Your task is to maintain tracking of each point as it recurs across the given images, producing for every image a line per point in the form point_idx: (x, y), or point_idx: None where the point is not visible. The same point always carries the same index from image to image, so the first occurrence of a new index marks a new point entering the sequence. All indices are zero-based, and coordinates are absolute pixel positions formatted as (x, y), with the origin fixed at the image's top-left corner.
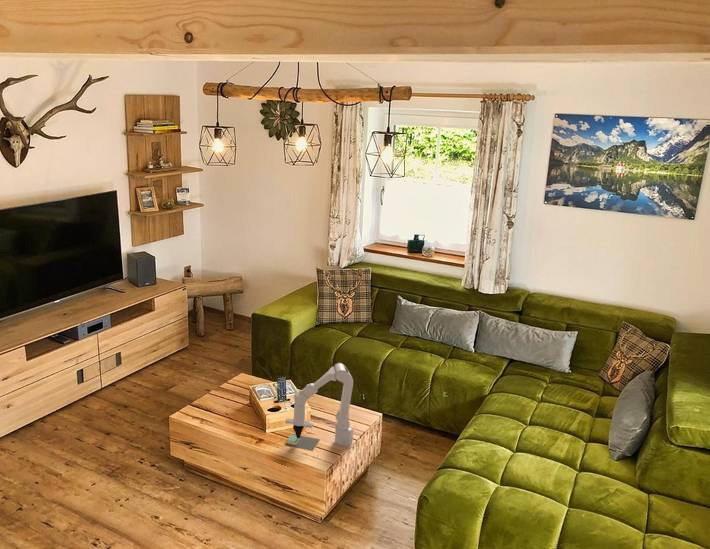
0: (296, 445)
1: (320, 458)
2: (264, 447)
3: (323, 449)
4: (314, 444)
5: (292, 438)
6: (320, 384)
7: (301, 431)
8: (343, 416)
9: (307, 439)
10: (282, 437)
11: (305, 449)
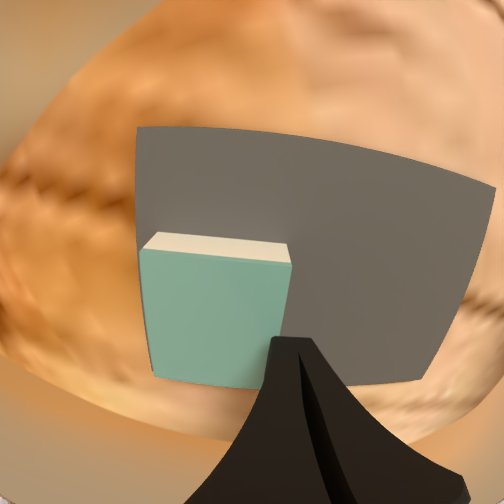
0: None
1: (448, 400)
2: (58, 382)
3: (490, 315)
4: (449, 294)
5: (199, 342)
6: None
7: (348, 407)
8: None
9: (383, 218)
10: (70, 229)
11: (368, 383)
